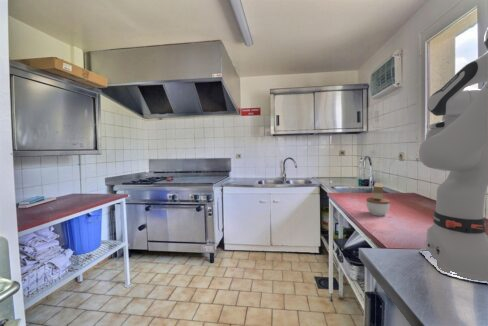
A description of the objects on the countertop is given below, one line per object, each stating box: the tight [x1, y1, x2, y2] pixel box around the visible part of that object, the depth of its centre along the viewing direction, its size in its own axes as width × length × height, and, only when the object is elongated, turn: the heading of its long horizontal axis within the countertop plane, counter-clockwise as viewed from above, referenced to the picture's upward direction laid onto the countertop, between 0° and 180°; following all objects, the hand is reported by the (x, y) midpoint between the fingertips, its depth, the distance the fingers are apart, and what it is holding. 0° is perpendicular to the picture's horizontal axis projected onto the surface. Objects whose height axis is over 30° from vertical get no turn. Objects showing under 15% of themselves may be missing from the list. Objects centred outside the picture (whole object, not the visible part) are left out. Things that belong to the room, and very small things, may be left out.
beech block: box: [372, 182, 384, 199], centre depth 126 cm, size 12×4×6 cm, turn 150°
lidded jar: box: [366, 196, 391, 217], centre depth 127 cm, size 11×11×9 cm
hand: (453, 155), depth 107 cm, fingers open, 8 cm apart
